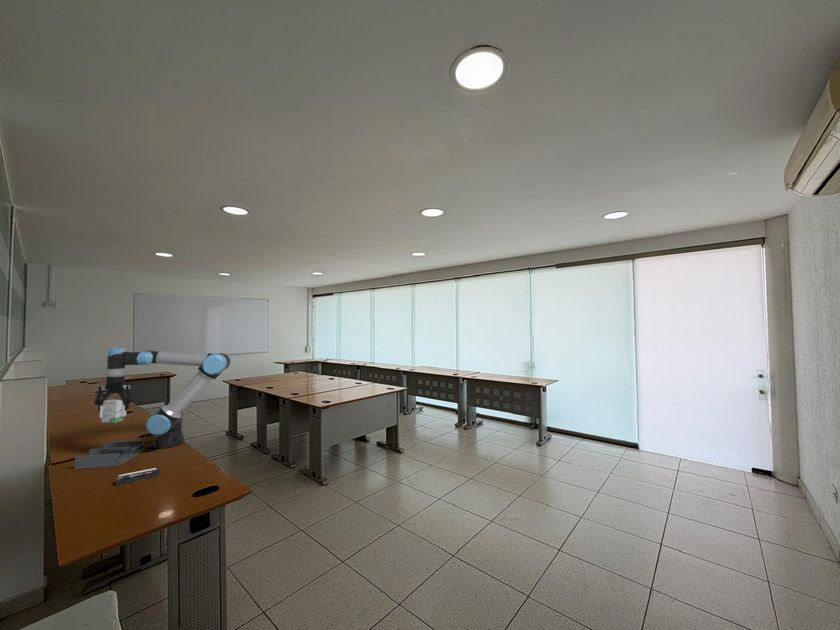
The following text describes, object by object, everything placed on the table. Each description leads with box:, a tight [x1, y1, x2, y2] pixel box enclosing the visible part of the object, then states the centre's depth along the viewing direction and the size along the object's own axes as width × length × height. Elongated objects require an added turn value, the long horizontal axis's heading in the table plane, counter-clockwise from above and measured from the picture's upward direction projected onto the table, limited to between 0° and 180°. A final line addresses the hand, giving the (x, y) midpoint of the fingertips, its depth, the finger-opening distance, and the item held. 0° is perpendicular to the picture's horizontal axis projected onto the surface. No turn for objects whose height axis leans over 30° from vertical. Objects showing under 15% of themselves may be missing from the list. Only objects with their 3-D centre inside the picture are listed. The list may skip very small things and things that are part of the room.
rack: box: [74, 439, 145, 470], centre depth 178 cm, size 19×22×6 cm
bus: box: [115, 467, 161, 487], centre depth 153 cm, size 14×25×4 cm, turn 129°
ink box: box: [101, 398, 125, 424], centre depth 183 cm, size 9×5×12 cm, turn 85°
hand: (113, 416), depth 183 cm, fingers closed on ink box, 9 cm apart
